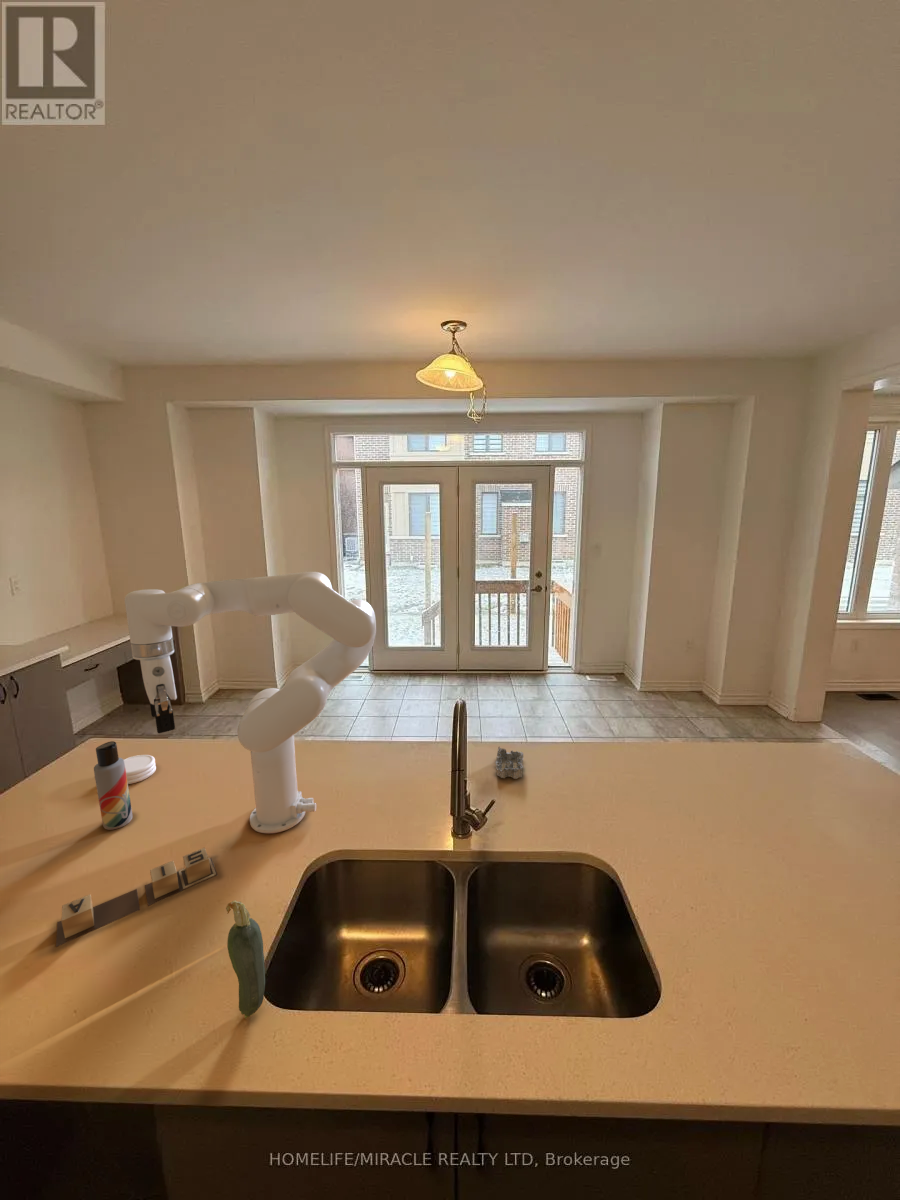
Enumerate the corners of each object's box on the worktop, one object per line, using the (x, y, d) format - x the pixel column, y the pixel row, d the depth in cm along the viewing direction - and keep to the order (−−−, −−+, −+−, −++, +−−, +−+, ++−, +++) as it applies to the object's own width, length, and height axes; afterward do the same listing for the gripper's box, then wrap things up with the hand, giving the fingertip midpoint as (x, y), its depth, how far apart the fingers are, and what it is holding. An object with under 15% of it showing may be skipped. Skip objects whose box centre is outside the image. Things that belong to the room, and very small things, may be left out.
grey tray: (211, 859, 97) (209, 842, 96) (217, 876, 92) (215, 858, 92) (144, 887, 90) (142, 868, 89) (148, 907, 85) (145, 888, 84)
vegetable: (273, 1000, 69) (262, 886, 65) (263, 1033, 65) (250, 913, 61) (243, 1001, 69) (230, 887, 65) (231, 1034, 65) (216, 914, 61)
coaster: (160, 775, 127) (158, 763, 127) (116, 790, 121) (114, 778, 120) (151, 761, 134) (150, 750, 134) (109, 774, 128) (108, 763, 127)
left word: (137, 890, 89) (134, 872, 88) (140, 911, 84) (137, 892, 84) (57, 924, 82) (53, 904, 81) (56, 948, 77) (52, 928, 76)
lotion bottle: (117, 832, 105) (104, 751, 101) (97, 828, 106) (83, 749, 102) (138, 815, 111) (127, 739, 107) (118, 812, 112) (106, 736, 108)
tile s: (206, 862, 96) (204, 846, 95) (210, 874, 92) (208, 858, 92) (184, 871, 93) (182, 855, 92) (188, 884, 90) (186, 867, 89)
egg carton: (497, 757, 136) (497, 745, 135) (523, 760, 135) (523, 747, 134) (494, 778, 126) (494, 764, 125) (522, 781, 124) (522, 767, 124)
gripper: (180, 654, 93) (189, 732, 97) (167, 636, 107) (176, 705, 110) (135, 662, 89) (147, 743, 92) (128, 641, 102) (138, 713, 105)
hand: (163, 722), depth 101 cm, fingers open, 9 cm apart
